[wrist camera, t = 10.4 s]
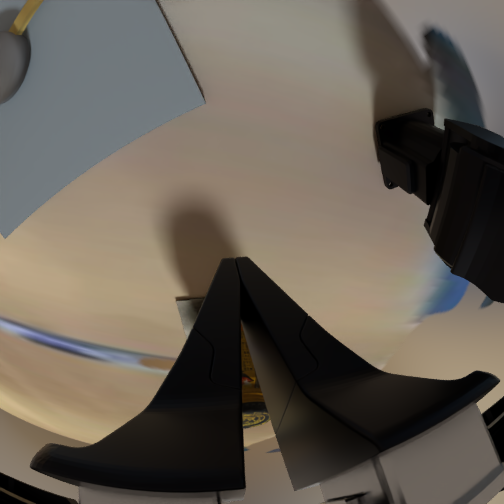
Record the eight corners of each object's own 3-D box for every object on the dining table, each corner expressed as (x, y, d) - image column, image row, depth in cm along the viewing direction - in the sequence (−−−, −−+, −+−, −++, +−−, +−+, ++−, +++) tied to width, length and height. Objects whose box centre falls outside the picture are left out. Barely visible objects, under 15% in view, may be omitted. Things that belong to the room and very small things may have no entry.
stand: (111, -83, 5) (100, -98, 2) (205, 102, 17) (206, 107, 14) (-66, 85, 7) (-86, 93, 4) (8, 234, 19) (-7, 254, 16)
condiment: (258, 333, 32) (280, 426, 23) (187, 341, 31) (193, 436, 22) (260, 290, 28) (289, 399, 19) (175, 298, 27) (175, 412, 17)
